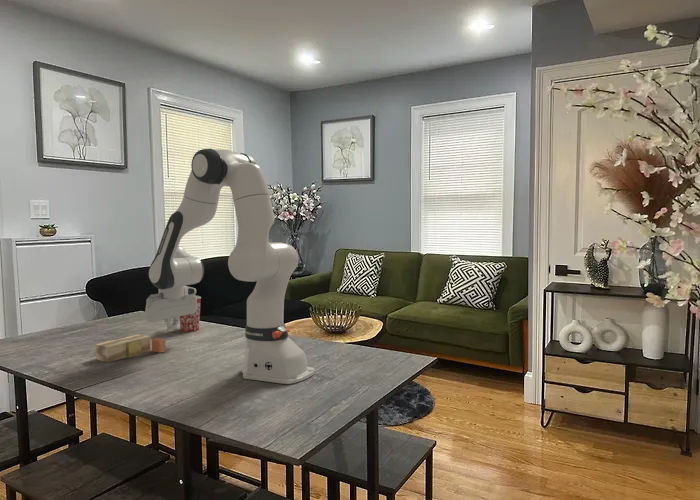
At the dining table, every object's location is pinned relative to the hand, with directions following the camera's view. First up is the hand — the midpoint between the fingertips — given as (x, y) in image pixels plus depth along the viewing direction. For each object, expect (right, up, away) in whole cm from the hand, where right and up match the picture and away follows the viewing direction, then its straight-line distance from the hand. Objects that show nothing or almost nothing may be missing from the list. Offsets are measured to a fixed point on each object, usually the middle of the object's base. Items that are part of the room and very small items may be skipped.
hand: (172, 329), depth 174 cm
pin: (-15, -7, -7) cm, 18 cm away
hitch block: (-13, -7, -9) cm, 17 cm away
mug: (-4, -5, +28) cm, 29 cm away
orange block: (-3, -7, -5) cm, 9 cm away
